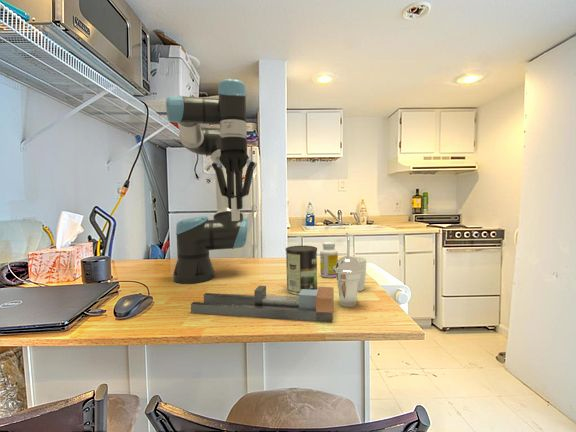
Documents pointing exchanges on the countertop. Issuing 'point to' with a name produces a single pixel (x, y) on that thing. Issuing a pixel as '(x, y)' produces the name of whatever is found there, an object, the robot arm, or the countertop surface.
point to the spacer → (307, 299)
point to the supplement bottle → (328, 260)
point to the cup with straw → (347, 277)
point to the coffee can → (301, 268)
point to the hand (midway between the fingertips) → (235, 220)
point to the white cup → (362, 275)
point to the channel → (266, 307)
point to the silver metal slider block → (274, 299)
